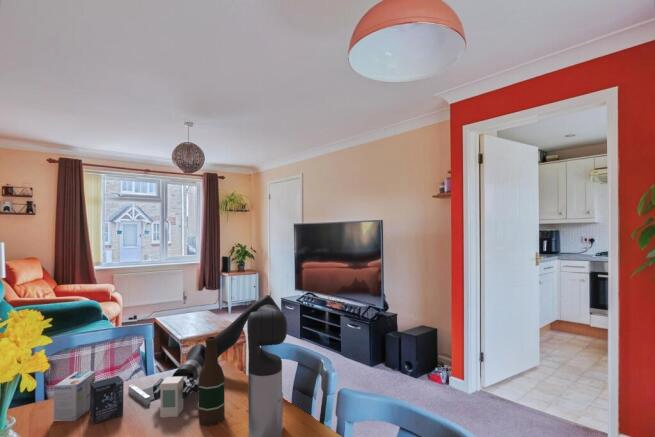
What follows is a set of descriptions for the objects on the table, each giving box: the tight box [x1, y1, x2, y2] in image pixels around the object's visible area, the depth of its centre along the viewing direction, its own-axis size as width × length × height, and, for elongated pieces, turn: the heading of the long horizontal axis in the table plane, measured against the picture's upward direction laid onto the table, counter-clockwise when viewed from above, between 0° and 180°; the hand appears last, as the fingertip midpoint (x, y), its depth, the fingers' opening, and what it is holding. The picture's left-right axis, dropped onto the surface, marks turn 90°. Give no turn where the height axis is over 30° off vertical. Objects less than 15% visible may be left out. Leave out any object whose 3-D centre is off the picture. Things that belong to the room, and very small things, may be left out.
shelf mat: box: [141, 386, 161, 402], centre depth 128 cm, size 12×10×1 cm
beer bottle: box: [198, 335, 226, 427], centre depth 110 cm, size 8×8×24 cm
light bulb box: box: [53, 370, 96, 422], centre depth 114 cm, size 11×7×11 cm, turn 5°
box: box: [89, 375, 125, 425], centre depth 112 cm, size 8×6×11 cm
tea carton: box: [160, 376, 184, 418], centre depth 114 cm, size 5×5×10 cm
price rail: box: [128, 384, 151, 407], centre depth 124 cm, size 2×14×2 cm, turn 48°
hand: (169, 395), depth 112 cm, fingers open, 7 cm apart
